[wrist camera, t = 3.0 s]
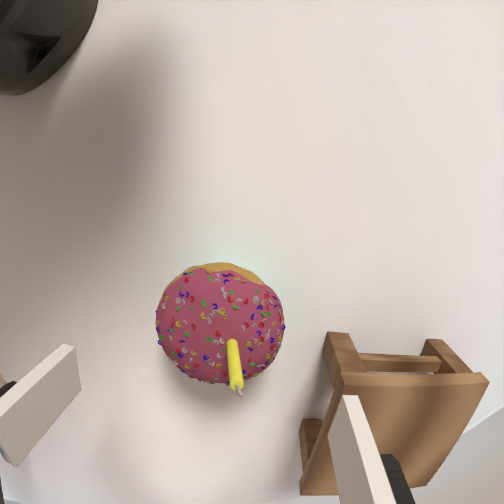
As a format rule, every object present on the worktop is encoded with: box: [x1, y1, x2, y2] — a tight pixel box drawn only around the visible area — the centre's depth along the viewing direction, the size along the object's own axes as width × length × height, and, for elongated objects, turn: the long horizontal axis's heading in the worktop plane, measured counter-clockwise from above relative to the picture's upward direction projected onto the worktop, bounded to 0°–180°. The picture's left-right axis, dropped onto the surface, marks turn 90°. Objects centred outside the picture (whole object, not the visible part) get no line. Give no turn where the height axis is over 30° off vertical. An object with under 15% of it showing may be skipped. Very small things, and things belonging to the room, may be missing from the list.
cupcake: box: [155, 263, 285, 397], centre depth 19 cm, size 9×8×12 cm
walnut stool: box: [299, 332, 489, 496], centre depth 22 cm, size 12×12×8 cm
